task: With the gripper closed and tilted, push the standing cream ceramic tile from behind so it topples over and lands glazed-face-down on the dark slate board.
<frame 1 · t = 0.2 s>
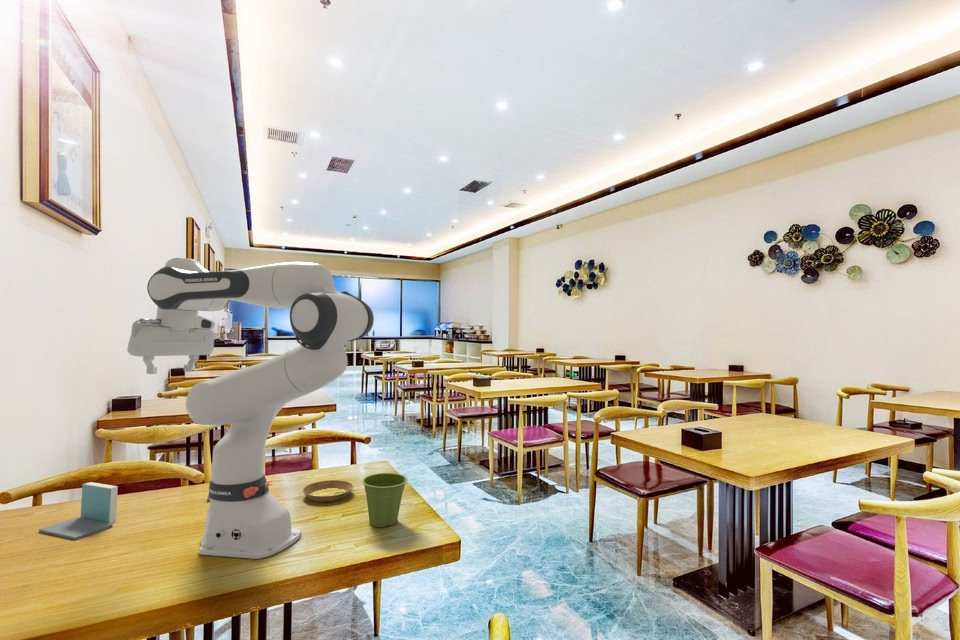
hand: (170, 372, 116), 39 cm above the table, fingers open, 8 cm apart
ceramic fragment: (229, 497, 136), on the table
plant pot: (383, 523, 118), on the table
plant saucer: (328, 496, 137), on the table
tile: (98, 520, 116), on the table
slate board: (76, 529, 110), on the table
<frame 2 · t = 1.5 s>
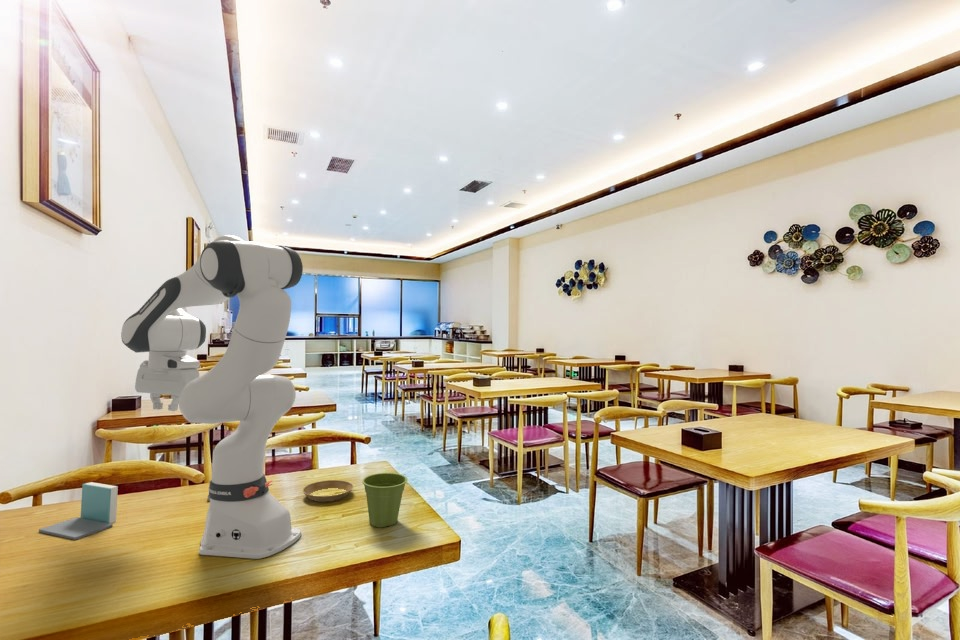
hand: (165, 410, 127), 27 cm above the table, fingers open, 4 cm apart
nothing on the table moved.
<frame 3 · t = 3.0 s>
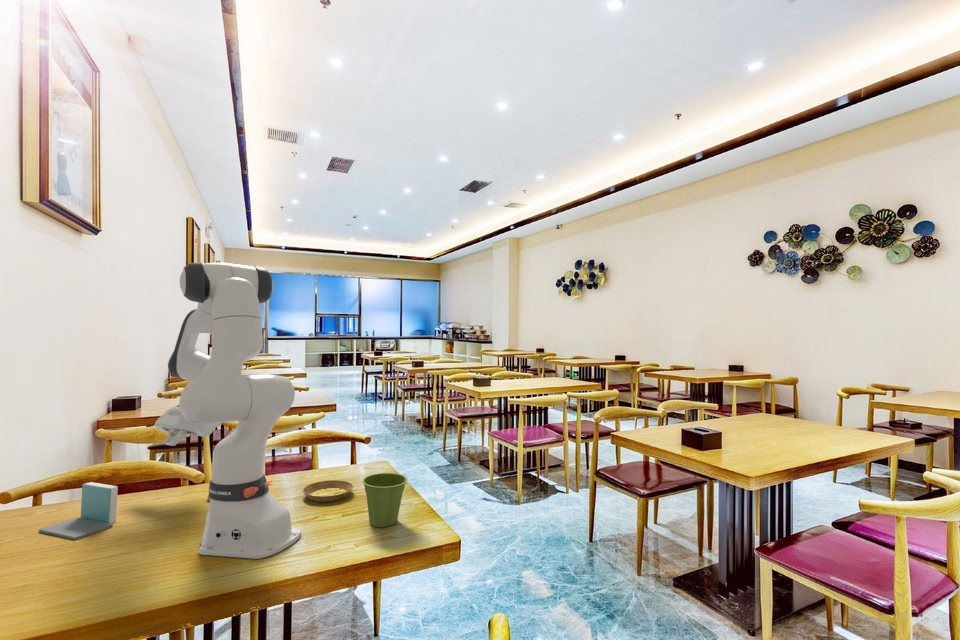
hand: (168, 444, 134), 15 cm above the table, fingers closed
nothing on the table moved.
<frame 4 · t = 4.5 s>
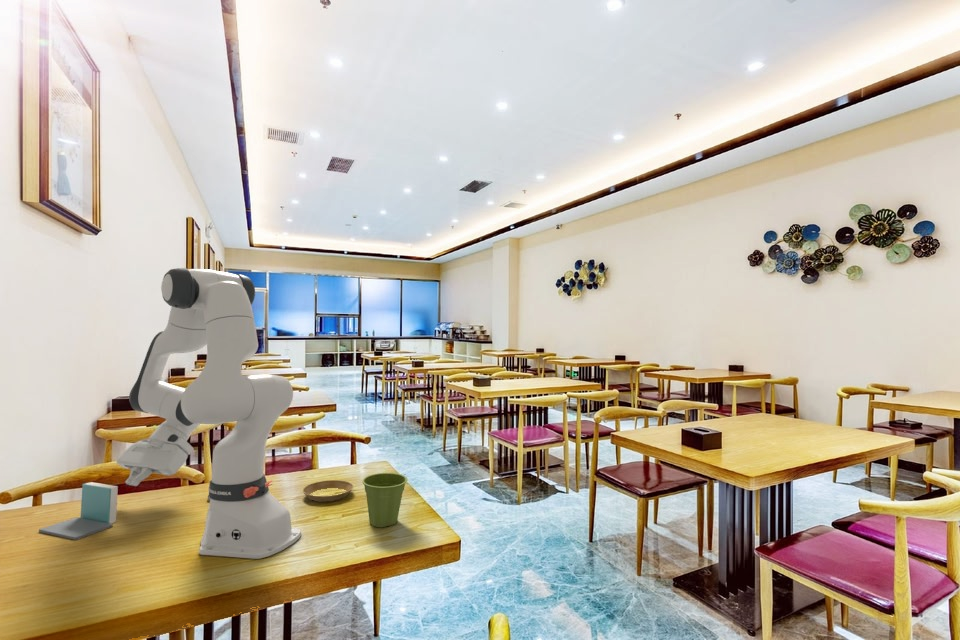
hand: (130, 484, 124), 7 cm above the table, fingers closed
nothing on the table moved.
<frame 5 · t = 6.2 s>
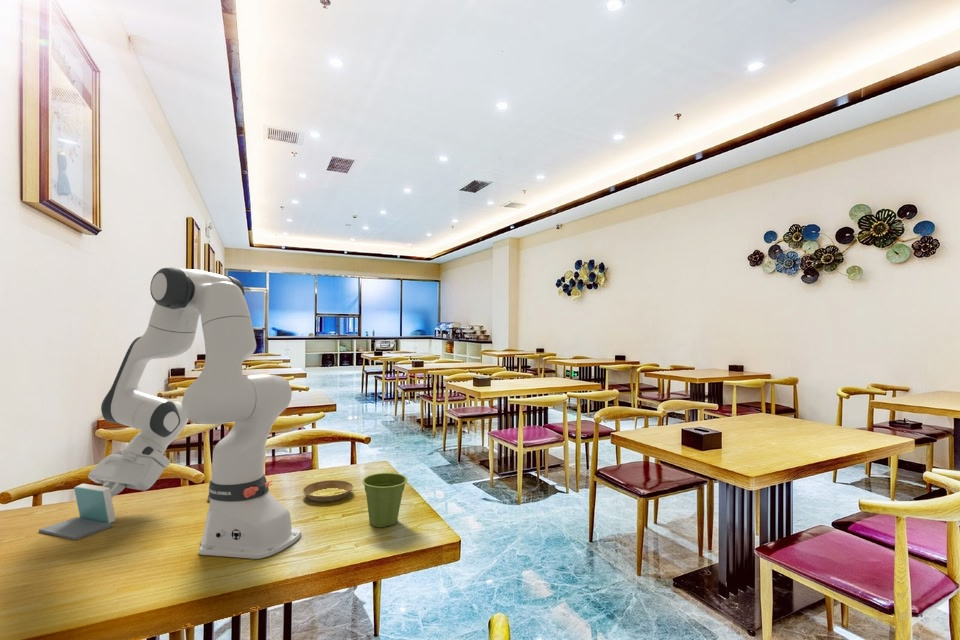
hand: (101, 500, 116), 5 cm above the table, fingers closed
tile: (98, 519, 116), on the table, tilted 12°
everything else where it was.
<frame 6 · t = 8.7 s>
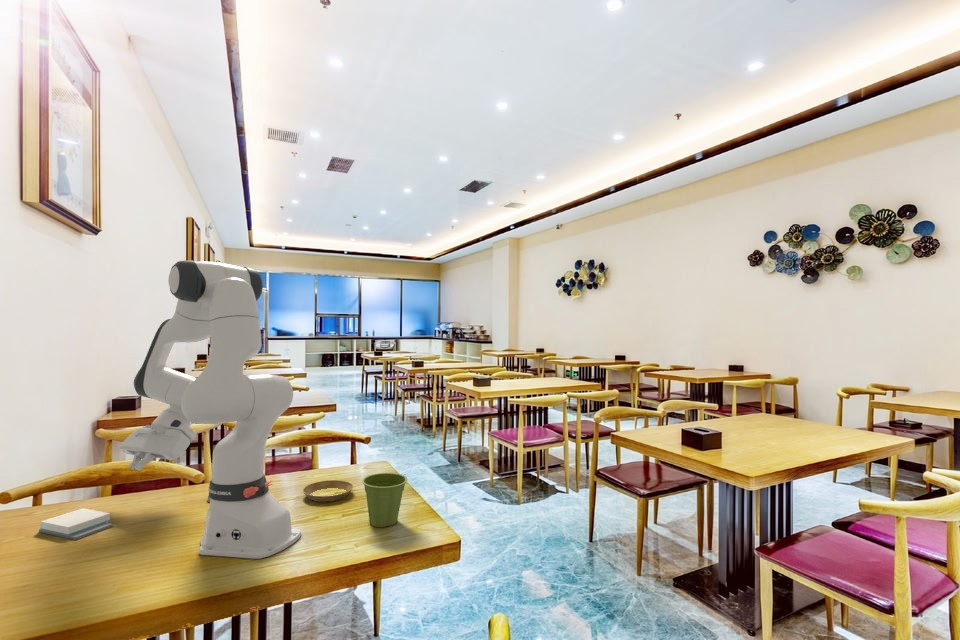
hand: (133, 469, 124), 11 cm above the table, fingers closed
tile: (96, 514, 115), point 2 cm above the table, tilted 90°, touching slate board
everything else where it was.
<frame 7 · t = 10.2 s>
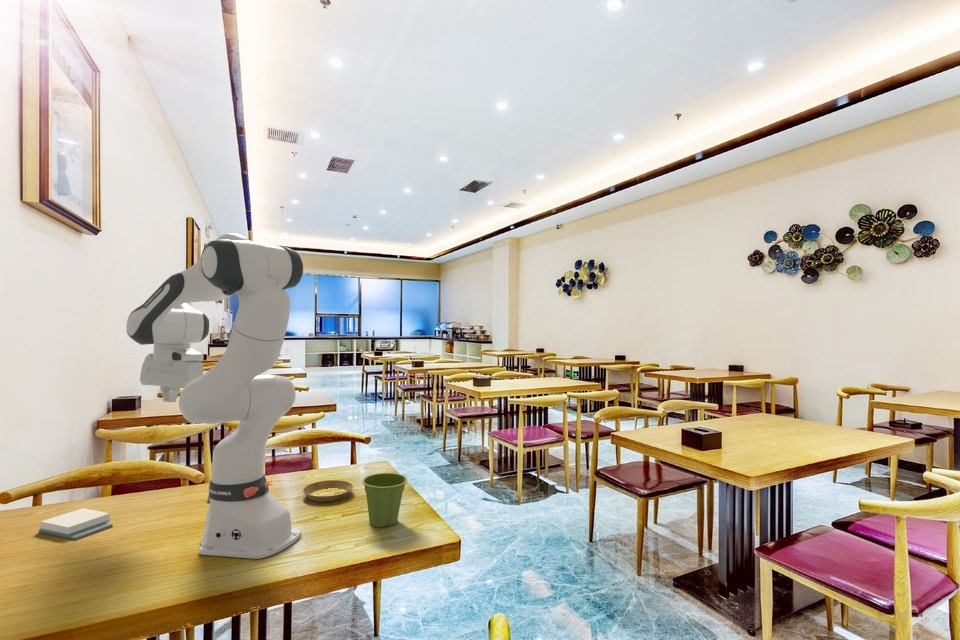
hand: (169, 402, 129), 29 cm above the table, fingers closed
nothing on the table moved.
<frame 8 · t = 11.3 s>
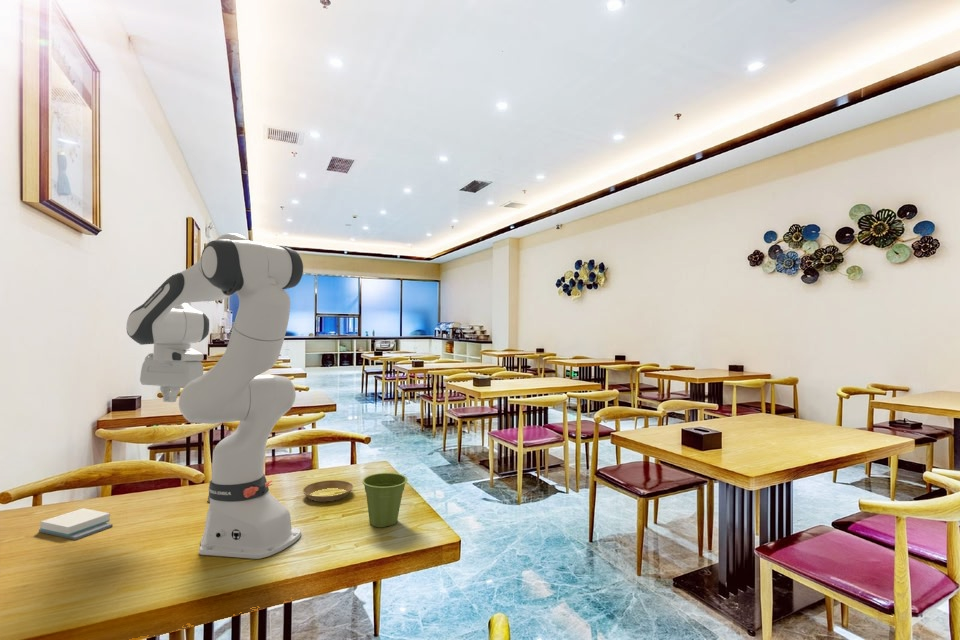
hand: (169, 401, 129), 29 cm above the table, fingers closed
nothing on the table moved.
at the end: tile tilted 90°; tile inside the target area (4.9 cm from its centre), point 1.6 cm above the table; the gripper is holding nothing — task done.
